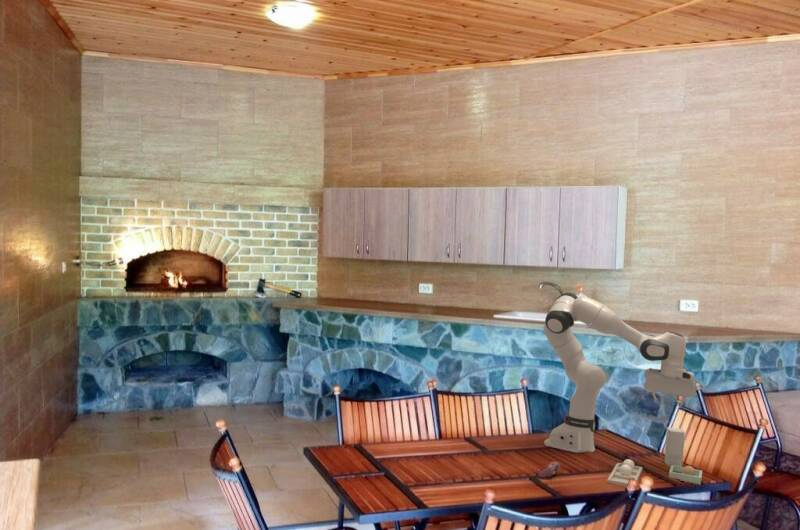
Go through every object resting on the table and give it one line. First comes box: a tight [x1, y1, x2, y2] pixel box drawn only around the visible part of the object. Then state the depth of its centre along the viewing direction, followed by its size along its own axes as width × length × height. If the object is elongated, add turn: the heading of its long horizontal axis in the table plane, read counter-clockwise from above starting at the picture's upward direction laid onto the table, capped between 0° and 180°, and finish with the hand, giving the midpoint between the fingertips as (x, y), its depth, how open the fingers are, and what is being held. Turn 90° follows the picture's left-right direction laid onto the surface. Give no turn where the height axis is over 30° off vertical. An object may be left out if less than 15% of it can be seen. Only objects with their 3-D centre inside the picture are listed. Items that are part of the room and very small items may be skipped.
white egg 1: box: [622, 458, 636, 470], centre depth 306 cm, size 5×5×5 cm
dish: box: [668, 465, 703, 486], centre depth 305 cm, size 12×12×3 cm
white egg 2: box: [620, 464, 632, 476], centre depth 298 cm, size 5×5×5 cm
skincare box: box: [663, 426, 686, 467], centre depth 324 cm, size 8×7×16 cm
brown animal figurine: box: [538, 461, 561, 478], centre depth 293 cm, size 10×5×7 cm, turn 150°
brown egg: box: [683, 465, 695, 476], centre depth 304 cm, size 5×5×5 cm
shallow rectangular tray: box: [606, 462, 643, 488], centre depth 298 cm, size 10×28×2 cm, turn 156°
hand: (667, 404), depth 312 cm, fingers open, 8 cm apart
